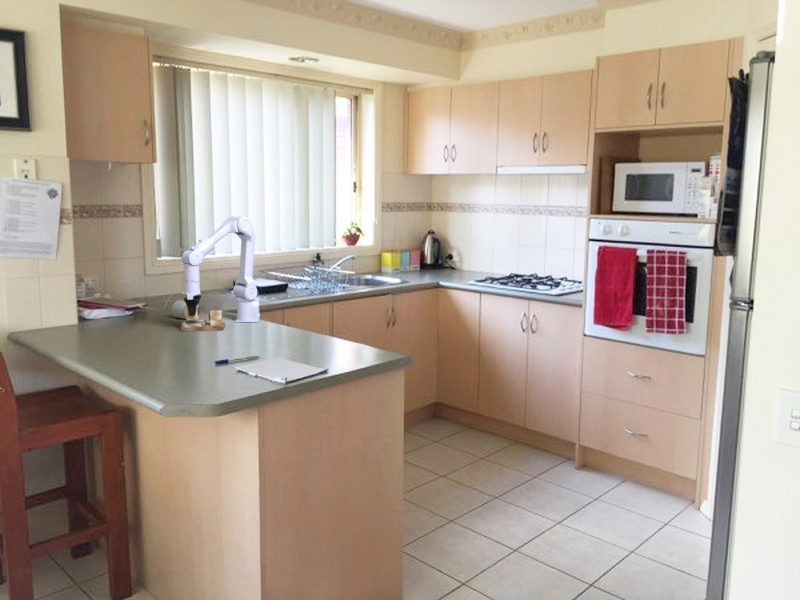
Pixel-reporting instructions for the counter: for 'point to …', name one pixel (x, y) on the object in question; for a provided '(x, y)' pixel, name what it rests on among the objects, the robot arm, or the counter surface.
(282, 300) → the counter surface
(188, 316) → the tan square block
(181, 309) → the ceramic mug
